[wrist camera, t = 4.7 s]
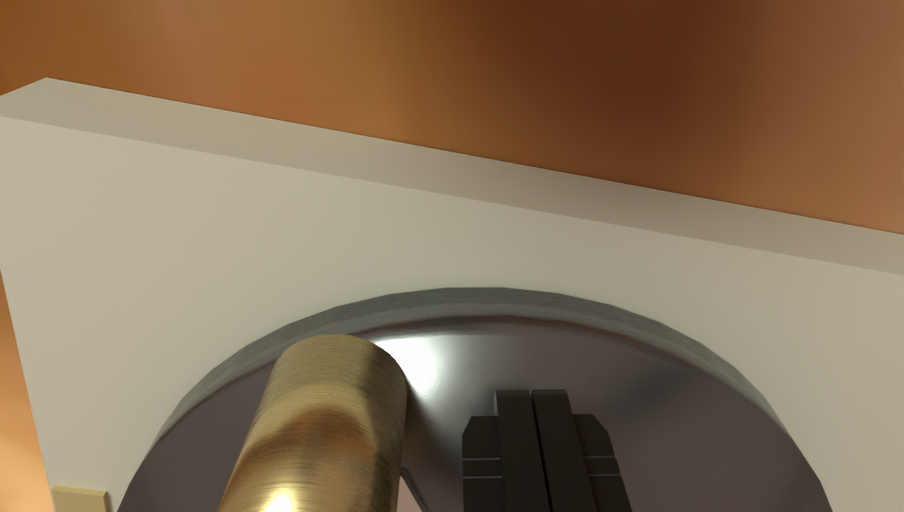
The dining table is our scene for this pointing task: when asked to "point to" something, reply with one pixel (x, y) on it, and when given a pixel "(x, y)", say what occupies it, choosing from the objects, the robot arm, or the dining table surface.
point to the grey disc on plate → (396, 272)
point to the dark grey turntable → (464, 410)
